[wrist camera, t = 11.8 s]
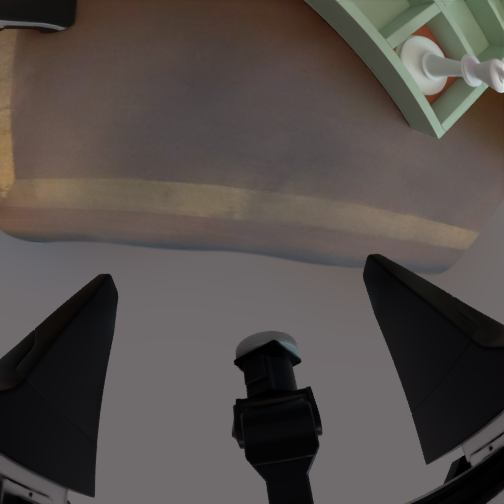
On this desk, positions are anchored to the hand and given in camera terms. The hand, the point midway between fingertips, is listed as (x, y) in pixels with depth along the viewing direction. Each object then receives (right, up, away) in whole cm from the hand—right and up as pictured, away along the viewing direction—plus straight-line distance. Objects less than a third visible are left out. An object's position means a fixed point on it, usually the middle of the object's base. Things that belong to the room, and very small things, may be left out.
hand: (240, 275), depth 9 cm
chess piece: (+13, +15, +5) cm, 20 cm away
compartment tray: (+15, +21, +2) cm, 26 cm away
